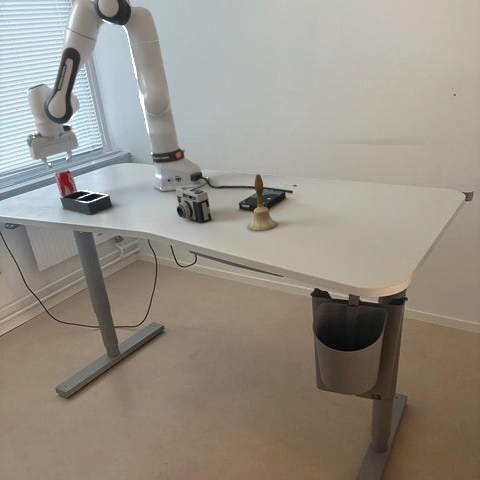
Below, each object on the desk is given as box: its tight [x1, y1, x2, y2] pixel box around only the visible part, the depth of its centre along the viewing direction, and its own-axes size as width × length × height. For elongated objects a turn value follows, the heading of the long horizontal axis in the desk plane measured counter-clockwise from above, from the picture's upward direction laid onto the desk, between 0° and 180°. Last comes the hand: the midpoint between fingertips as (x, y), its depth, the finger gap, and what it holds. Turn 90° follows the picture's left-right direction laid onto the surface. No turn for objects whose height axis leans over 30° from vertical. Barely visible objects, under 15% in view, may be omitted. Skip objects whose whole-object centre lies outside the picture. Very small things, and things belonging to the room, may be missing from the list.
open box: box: [59, 189, 113, 216], centre depth 194 cm, size 19×10×5 cm, turn 49°
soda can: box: [54, 168, 78, 197], centre depth 206 cm, size 7×7×12 cm
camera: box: [175, 186, 212, 224], centre depth 165 cm, size 14×8×10 cm, turn 37°
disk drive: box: [238, 189, 287, 212], centre depth 171 cm, size 10×3×15 cm
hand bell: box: [249, 173, 277, 232], centre depth 150 cm, size 8×8×16 cm
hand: (59, 165), depth 201 cm, fingers open, 8 cm apart
